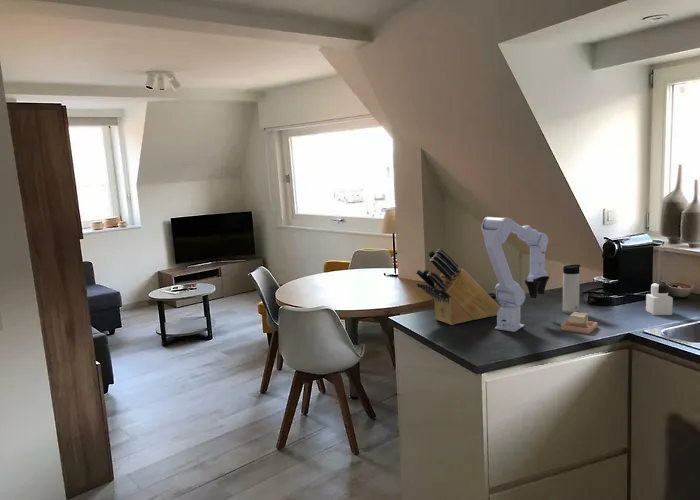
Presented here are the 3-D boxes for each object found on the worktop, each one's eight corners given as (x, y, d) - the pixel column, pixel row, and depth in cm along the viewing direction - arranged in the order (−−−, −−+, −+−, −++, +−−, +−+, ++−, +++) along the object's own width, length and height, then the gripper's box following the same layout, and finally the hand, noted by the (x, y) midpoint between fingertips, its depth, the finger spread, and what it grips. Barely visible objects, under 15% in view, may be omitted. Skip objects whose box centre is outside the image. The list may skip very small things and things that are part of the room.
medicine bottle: (663, 310, 221) (665, 281, 220) (672, 315, 214) (673, 285, 213) (645, 310, 222) (646, 282, 220) (653, 315, 215) (654, 285, 213)
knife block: (415, 323, 220) (412, 248, 215) (483, 310, 235) (483, 239, 230) (431, 330, 210) (429, 251, 205) (501, 315, 225) (501, 241, 220)
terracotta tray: (588, 334, 196) (588, 329, 196) (560, 330, 203) (560, 324, 202) (597, 327, 204) (597, 322, 203) (570, 323, 210) (570, 318, 210)
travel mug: (581, 314, 222) (582, 266, 219) (564, 314, 223) (564, 266, 220) (578, 310, 228) (578, 263, 225) (561, 310, 229) (561, 263, 226)
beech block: (583, 330, 200) (583, 317, 199) (569, 328, 203) (569, 315, 202) (587, 326, 203) (588, 313, 203) (574, 324, 206) (574, 312, 206)
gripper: (540, 266, 207) (539, 300, 209) (554, 260, 218) (553, 293, 220) (522, 264, 212) (522, 298, 214) (536, 258, 222) (536, 291, 224)
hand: (537, 295), depth 217 cm, fingers open, 7 cm apart
